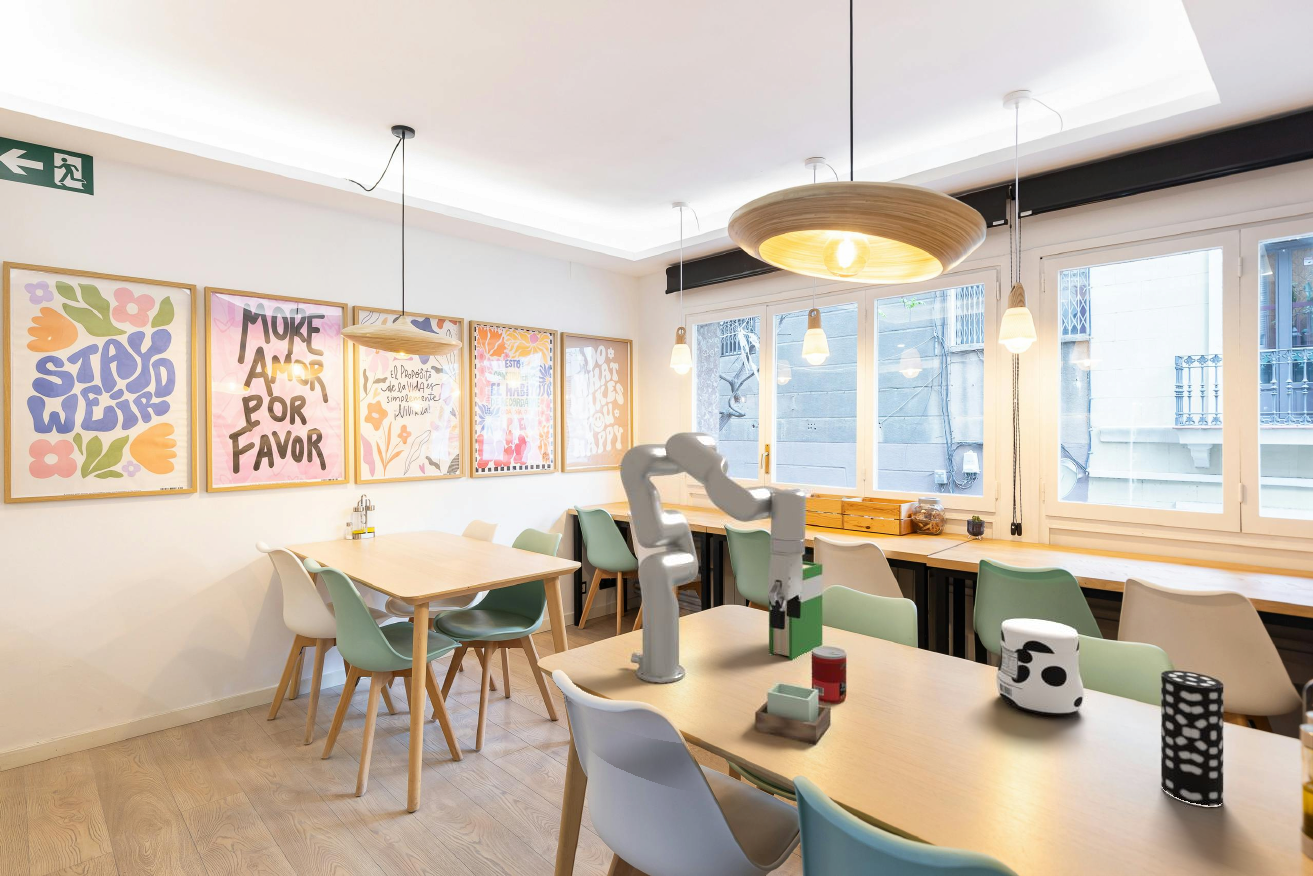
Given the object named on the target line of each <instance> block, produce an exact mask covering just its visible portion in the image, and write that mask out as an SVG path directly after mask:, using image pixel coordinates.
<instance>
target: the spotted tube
mask: <svg viewBox="0 0 1313 876" xmlns="http://www.w3.org/2000/svg"><path fill="white" fill-rule="evenodd" d="M1160 676H1161V677H1160V678H1161V680H1160V681H1161V682H1160V683H1161V689H1160V692H1161V696H1160V698H1161V700H1160V702H1161V704H1160V706H1161V707H1160V709H1161V710H1160V712H1161V714H1160V715H1161V717H1160V718H1161V719H1160V721H1161V725H1160V729H1161V731H1160V733H1161V736H1160V739H1161V743H1160V746H1161V748H1160V750H1161V751H1160V754H1161V758H1160V761H1161V762H1160V765H1161V766H1160V771H1161V772H1160V775H1161V776H1160V782H1161V784H1160V785H1161V786H1162V787H1163V789H1164V790H1165V791H1167V792H1168V793H1169V794H1171V795H1173V796H1174V797H1177V798H1179V799H1181V800H1184V801H1188V802H1190V803H1196V804H1201V805H1208V806H1214V805H1219V804H1221V803H1223V804H1224V683H1223V682H1222V681H1220V680H1219V679H1218V678H1217V679H1216V678H1215V677H1212V676H1209V675H1205V674H1202V673H1197V672H1191V671H1184V670H1177V669H1176V670H1165V671H1162V672H1161V675H1160Z"/></svg>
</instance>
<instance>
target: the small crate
mask: <svg viewBox="0 0 1313 876" xmlns="http://www.w3.org/2000/svg"><path fill="white" fill-rule="evenodd" d="M766 693H767V694H766V695H767V696H766V697H767V701H766V702H767V714H772V715H776V716H781V717H785V718H790V719H794V720H799V721H804V722H808V723H814V722H815V721H816V720H817V718H818V705H819V701H818V690H816V689H812V687H811V688H810V687H804V686H800V685H794V684H789V683H784V682H780V681H778V682H777V683H776V684H774V686H772V687H771V688H769V690H767V692H766Z"/></svg>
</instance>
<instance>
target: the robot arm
mask: <svg viewBox="0 0 1313 876" xmlns="http://www.w3.org/2000/svg"><path fill="white" fill-rule="evenodd" d="M717 449H718V448H717V445H716V442H715V440H714V438H713V437H711V436H710V435H709V434H707V433H703V432H679V433H675V434H673V435H671V436H670V437H669V438H668V439H667V441H666V443H660V444H659V443H657V444H655V443H647V444H645V443H644V444H640V445H639V444H638V445H636V446H633V447H630V448H629V449H628V450H627V451H625V453H624V455H623V457H622V459H621V462H620V467H619V473H620V479H621V484H622V485H623V489H624V491H625V492H624V493H625V494H626V498H627V500H628V501H627V502H628V506H629V511H630V515H631V520H632V523H633V524H632V525H633V529H634V533H635V537H636V540H637V543H638V544H639V545H640V546H641V547H642V548H645V549H655V548H656V549H657V548H663V547H665V551H660V552H656V553H652V554H649V555H647V556H646V557H644V558H643V559H642V560H641V561H640V564H639V566H638V571H637V573H638V574H637V575H638V580H639V586H640V593H641V607H642V608H641V609H642V610H641V611H642V612H641V613H642V614H641V615H642V619H641V620H642V654H641V653H639V652H632V654H631V658H630V662H631V663H633V664H637V665H638V667H637V669H636V677H638V678H639V679H640V678H641V679H640V680H642V679H643V680H642V681H645V680H646V681H645V682H648V681H651V682H650V683H654V682H658V683H659V684H661V683H662V684H665V682H667V683H673V682H676V681H679V680H681V679H683V678H684V677H685V676H686V670H685V669H686V668H684V666H682V665H680V606H679V601H678V598H677V596H676V594H675V593H674V592H675V591H674V588H676V587H679V586H684V585H687V584H689V583H691V582H693V581H694V580H695V579H696V577H697V576H698V573H699V560H698V556H697V551H696V546H695V544H694V540H693V534H692V530H691V527H690V524H689V522H688V519H687V517H686V516H685V515H684V513H682V512H680V511H679V510H677V509H664V507H663V504H662V501H661V495H660V493H659V490H658V489H657V487H656V485H655V484H654V483H653V482H652V480H651V479H650V478H651V477H662V476H672V475H679V474H681V473H686V474H687V475H689V476H691V478H693V479H694V480H695V481H697V482H698V483H700V484H701V485H702V486H704V490H705V493H706V495H707V496H708V498H709V500H710V502H711V503H712V504H713V505H714V506H716V507H717V508H718V509H719V510H721V511H722V512H724V513H725V514H726V515H728V516H730V517H731V518H732V519H734V520H737V521H739V522H742V523H743V522H744V523H749V522H754V521H758V520H759V521H760V520H767V519H770V545H769V546H770V547H769V548H770V549H769V550H770V551H769V552H770V553H771V554H770V558H769V567H768V575H767V576H768V579H767V589H766V590H767V597H768V599H769V598H770V601H769V600H768V604H769V603H770V627H771V628H776V629H781V630H783V629H785V611H784V607H785V603H786V601H787V612H786V615H787V617H792V618H798V619H799V618H800V617H801V601H799V600H801V598H802V596H801V591H802V583H803V563H802V561H803V555H805V554H806V522H807V521H806V520H807V517H806V516H807V515H806V513H807V497H806V493H805V492H803V491H801V490H797V489H796V490H795V489H781V488H776V487H774V486H769V485H768V486H767V485H762V486H751V487H749V486H748V487H743V486H741V485H740V484H738V483H737V482H735V481H734V480H733V479H731V478H730V477H728V476H727V473H728V471H729V462H728V460H727V458H726V456H724V455H722V454H720V453H719V452H718V451H717ZM777 595H780V596H777ZM783 596H784V597H783ZM779 601H782V602H781V605H780V602H779Z"/></svg>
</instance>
